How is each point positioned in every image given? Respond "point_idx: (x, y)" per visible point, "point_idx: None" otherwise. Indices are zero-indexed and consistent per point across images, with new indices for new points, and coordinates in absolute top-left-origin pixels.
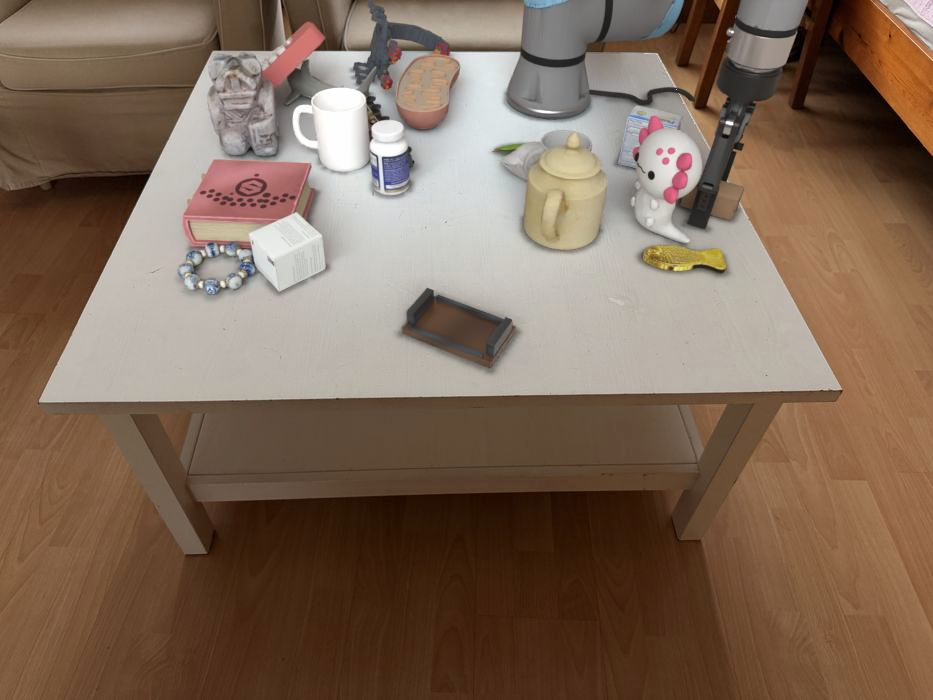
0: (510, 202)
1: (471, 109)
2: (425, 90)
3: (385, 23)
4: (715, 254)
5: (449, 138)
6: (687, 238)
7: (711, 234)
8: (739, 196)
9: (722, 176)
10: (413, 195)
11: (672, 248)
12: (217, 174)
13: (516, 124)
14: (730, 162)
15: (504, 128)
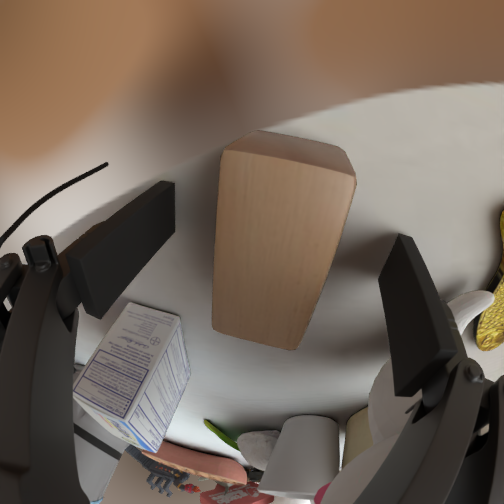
0: (343, 442)
1: (176, 436)
2: (206, 475)
3: (166, 489)
4: None
5: (236, 453)
6: (489, 303)
7: (427, 216)
8: (333, 174)
9: (147, 220)
10: (341, 464)
11: (491, 314)
12: None
13: (175, 423)
14: (109, 242)
15: (190, 431)
